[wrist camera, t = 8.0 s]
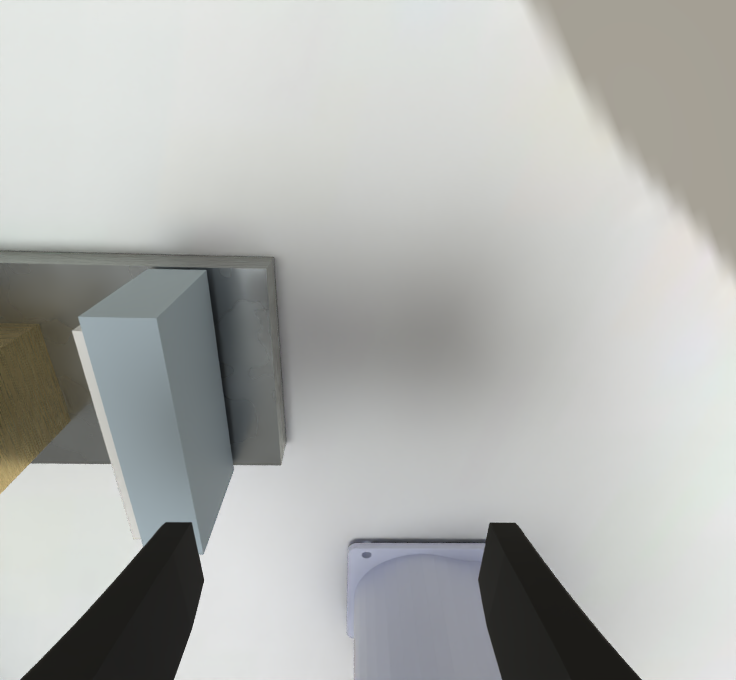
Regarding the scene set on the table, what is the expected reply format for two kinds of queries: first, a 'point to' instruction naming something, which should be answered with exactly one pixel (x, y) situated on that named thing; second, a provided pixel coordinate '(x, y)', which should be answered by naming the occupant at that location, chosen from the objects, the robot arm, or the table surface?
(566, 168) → the table surface
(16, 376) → the brass block
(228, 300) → the vise
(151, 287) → the sliding jaw
